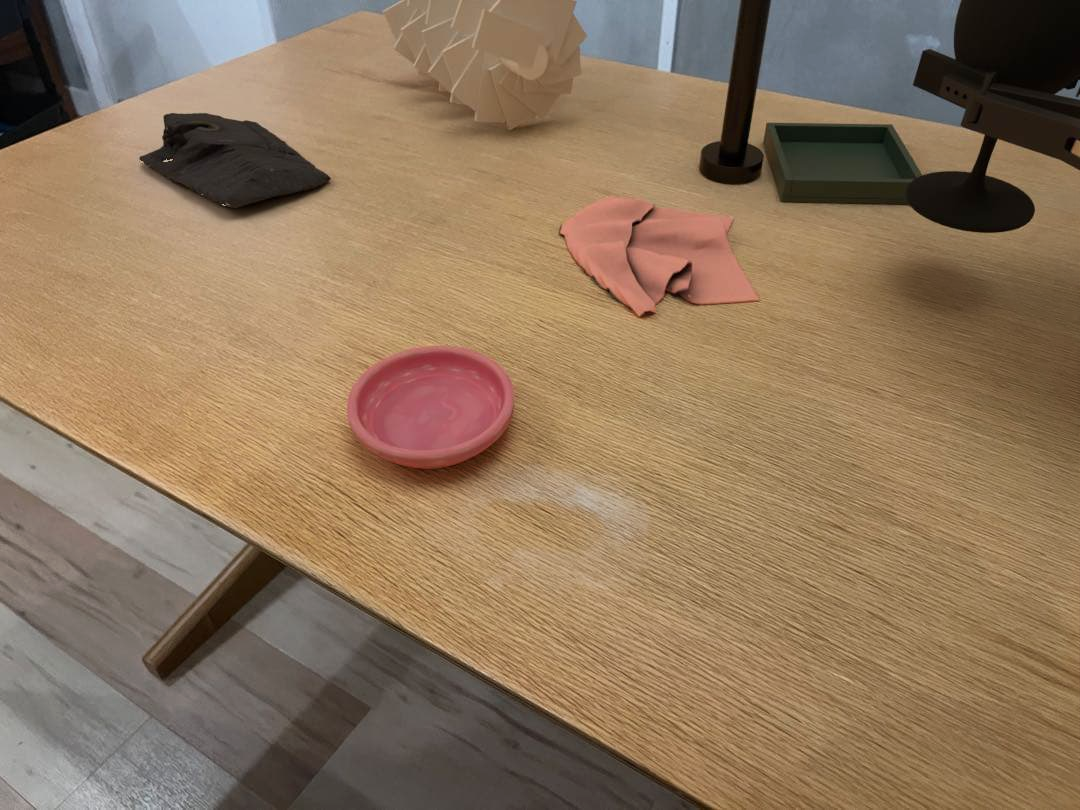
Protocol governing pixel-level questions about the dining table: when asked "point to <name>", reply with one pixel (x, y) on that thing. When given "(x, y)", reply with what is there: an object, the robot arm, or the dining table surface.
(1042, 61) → the wine glass
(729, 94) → the post
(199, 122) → the folded black garment
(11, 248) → the dining table surface
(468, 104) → the spiral staircase
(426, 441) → the saucer
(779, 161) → the tray
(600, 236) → the cloth
